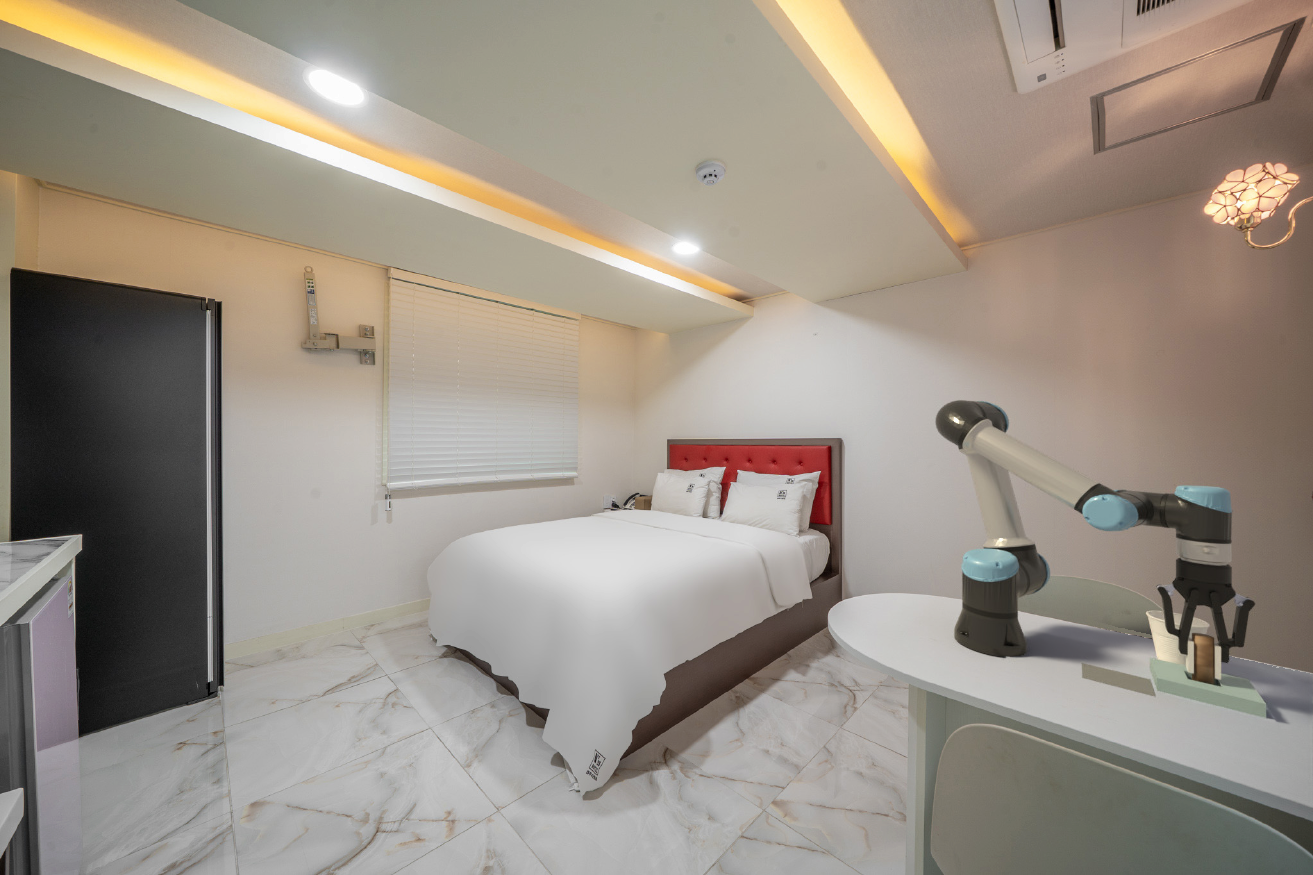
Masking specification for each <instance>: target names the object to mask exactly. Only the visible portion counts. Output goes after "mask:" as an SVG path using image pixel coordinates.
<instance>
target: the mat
mask: <svg viewBox="0 0 1313 875" xmlns="http://www.w3.org/2000/svg"><path fill="white" fill-rule="evenodd" d="M1081 678H1082V679H1085V680H1089V681H1094V682H1096V683H1100V684H1101V683H1102V684H1104V685H1109V686H1113V687H1117V688H1120V689H1125V690H1128V691H1131V692H1134V693H1140V694H1142V695H1143V694H1144V695H1146V696H1147V695H1148V696H1151V697H1154V698H1156V693H1155V691H1154V687H1153V683H1152V680H1151V679H1150V678H1146V677H1142V676H1137V675H1133V674H1130V673H1129V674H1128V673H1125V672H1122V671H1117V670H1113V669H1109V668H1105V667H1100V666H1096V665H1092V664H1087V663H1084V662H1081Z"/></svg>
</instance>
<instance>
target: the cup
mask: <svg viewBox="0 0 1313 875" xmlns="http://www.w3.org/2000/svg"><path fill="white" fill-rule="evenodd" d="M1145 614H1146V616H1147V618H1148V622H1149V629H1150V630H1151V636H1152V641H1153V645H1154V649H1155V655H1156V659H1158V660H1163V661H1167V662H1172V663H1176V664H1181V665H1186V655H1184V654H1181V653H1180V651H1179V649H1178V637H1177V636H1175V635H1173V634H1169V633H1168V632H1167V630H1166V626H1165V619H1164V612H1163V610H1147V611H1146V612H1145ZM1173 616H1174V623H1175V628H1176V629H1178V630H1179V626H1180V622H1181V617H1182V613H1177V612H1174V611H1173ZM1210 627H1211V625H1210V623H1209V622H1207V621H1205V620H1203V619H1200V618H1198V617H1195V616H1194V617H1193V621H1192V626H1191V630H1190V634H1189V638H1192V633H1201V634H1206V635H1207V633H1208V629H1209V628H1210Z"/></svg>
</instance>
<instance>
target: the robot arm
mask: <svg viewBox="0 0 1313 875" xmlns="http://www.w3.org/2000/svg"><path fill="white" fill-rule="evenodd" d="M935 416H936V417H935V428H936V430H937V432H938V433H939V434H940V435H941V436H942V437H943V438H944V439H946V440H947V441H949V443H952V444H954V445H955V446H957V448H958V451H959V452H960V453H962V454H964V455H965V456H966V458H967V463H968V465H969V466H968V467H969V470H970V475H971V478H972V482H973V486H974V490H975V493H976V497H977V502H978V506H979V509H980V514H981V516H982V517H981V518H982V521H983V525H984V526H983V527H984V530H985V534H986V537H987V540H986V541H985V542H984V543H983V545H982V548H974V549H970V550H967V551H966V552H965V553H964V554H963V556H962V563H961V579H962V580H961V584H962V586H961V591H962V592H961V595H962V596H961V597H962V598H961V599H962V600H961V602H962V603H961V604H962V605H961V606H962V607H961V610H960V614H959V616H958V619H957V621H956V623H955V626H954V631H953V632H954V633H953V635H954V639H955V641H956V640H957V641H956V642H958V643H959V644H960V645H962V646H963V647H966V648H968V649H970V650H972V651H975V652H978V653H981V654H986V655H989V656H996V657H1002V658H1007V657H1009V658H1012V657H1013V658H1015V657H1022V656H1024V655H1026V654H1027V652H1028V643H1027V640H1026V637H1025V635H1024V632H1023V628H1022V627H1021V624H1020V622H1019V598H1022V597H1025V596H1028V595H1029V596H1030V595H1033V594H1036V593H1038V592H1039V591H1040V590H1042V589H1043V588H1044V587H1046V585H1047V584H1048V583H1049V581H1050V577H1051V568H1050V565H1049V563H1048V562H1047V560H1046V559H1045V557H1044V556H1042V555H1041V554H1040V553H1039V552H1038V549H1037V546H1036V543H1035V541H1034V540H1032V539H1030V538H1029V537H1028V536H1026V531H1025V528H1024V525H1023V521H1022V517H1021V513H1020V509H1019V506H1018V502H1017V499H1016V495H1015V491H1014V487H1013V483H1012V480H1011V477H1010V473H1011V474H1013V475H1015V476H1016V477H1018V478H1020V479H1021V480H1024V481H1025V482H1026V483H1028V484H1030V485H1032V486H1033V487H1035V488H1037V489H1038V490H1040V491H1042V492H1043V493H1045V494H1047V495H1048V496H1050V497H1052V498H1054V499H1055V500H1057V501H1059V502H1060V503H1062V504H1064V505H1066V506H1067V507H1069V508H1071V509H1073V510H1074V511H1076V512H1077V513H1079V514H1081V515H1082V517H1083V518H1084V519H1085V521H1086V522H1087V523H1088V524H1089V525H1090V526H1091V527H1093V528H1094V529H1097V530H1099V531H1103V532H1122V531H1126V530H1129V529H1131V528H1135V527H1138V526H1146V527H1157V528H1163V529H1164V528H1165V529H1175V555H1176V556H1177V558H1176V559H1175V578H1174V580H1172V583H1169V584H1157V585H1156V589H1157V591H1158V593H1159V595H1160V596H1161V603H1162V611H1163V612H1164V619H1165V626H1166V630H1167V632H1168V633H1169V634H1173V635H1175V636H1177V637H1178V649H1179V651H1180V653H1181V654H1184V655H1186V669H1187V671H1188V672H1189V673H1193V674H1194V642H1193V641H1192V638H1189V634H1190V630H1191V626H1192V621H1193V617H1195V616H1194V615H1195V612H1196V610H1197V606H1199V607H1201V606H1205V607H1207V608H1209V609H1210V612H1211V617H1212V621H1213V624H1214V629H1215V634H1216V640H1217V642H1214V677H1215V679H1220V680H1221V673H1222V663H1223V664H1228V663H1229V662H1230V649H1231V648H1236V647H1237V648H1244V647H1245V641H1246V636H1247V627H1248V622H1249V615H1250V611H1252V609H1253V608H1254V607H1255V605H1256V602H1255V601H1254V600H1253V599H1252V598H1250V597H1249V596H1243V595H1241V594H1239V593H1237V592H1236V590H1235V589H1234V587H1233V580H1232V579H1233V570H1232V569H1233V566H1231V564H1229V563H1231V562H1233V561H1232V558H1233V557H1232V553H1233V552H1232V538H1233V537H1232V536H1233V535H1232V531H1233V528H1232V527H1233V526H1232V525H1233V524H1232V523H1233V511H1234V510H1233V509H1232V498H1231V493H1230V491H1229V490H1228V489H1226V488H1224V487H1219V486H1207V485H1191V484H1190V485H1188V484H1187V485H1185V484H1184V485H1177V486H1176V488H1175V491H1174V492H1173V493H1167V492H1166V493H1162V492H1152V491H1151V492H1150V491H1138V490H1127V489H1112V488H1110V487H1107V486H1105V485H1104V484H1102V483H1100V482H1099V481H1097V480H1095V479H1093V478H1091V477H1090V476H1087V475H1085V474H1083V473H1081V472H1080V471H1077V470H1076V469H1074V468H1072V467H1070V466H1068V465H1067V464H1064V463H1063V462H1061V461H1060V460H1057V459H1055V458H1053V457H1051V456H1049V455H1047V454H1046V453H1044V452H1043V451H1040V450H1038V448H1034V447H1033V446H1030V445H1029V444H1027V443H1025V442H1023V441H1021V440H1019V439H1017V438H1016V437H1013V436H1012V435H1010V434H1008V433H1007V431H1008V430H1009V427H1010V426H1009V425H1010V420H1009V417H1008V414H1007V413H1006V411H1005V410H1004V409H1002V407H1001V406H999V405H997V404H994V403H992V402H988V401H983V400H977V401H976V400H975V401H974V400H962V399H961V400H960V399H958V400H952V401H950V402H948V403H946V404H944V405H943V406H942V407H941V408H940V409H939V410H938V411H937V413H936V415H935ZM1009 472H1010V473H1009ZM1175 590H1176V591H1177V592H1178V593H1179V594H1180V596H1181V597H1182V598H1183V599H1184V605H1183V610H1182V613H1181V614H1182V617H1181V622H1180V626H1179V630H1178V629H1176V628H1175V623H1174V616H1173V612H1174V610H1173V609H1174V608H1173V601H1172V599H1171V597H1172V596H1174V591H1175ZM1232 599H1234V601H1233V602H1234V604H1235V606H1236V607H1235V613H1234V620H1233V626H1232V632H1231V638H1229V636H1228V632H1227V626H1226V622H1225V619H1224V612H1223V606H1224V605H1225V604H1227V603H1228V602H1230V600H1232Z"/></svg>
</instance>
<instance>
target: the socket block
mask: <svg viewBox="0 0 1313 875" xmlns="http://www.w3.org/2000/svg"><path fill="white" fill-rule="evenodd" d="M1149 671H1150V673H1151V677H1152V680H1153V682H1154V686H1155V690H1156V691H1158V692H1161V693H1163V694H1169V695H1172V696H1177V697H1181V698H1185V699H1188V700H1193V701H1196V702H1200V703H1205V704H1209V705H1212V706H1215V707H1220V708H1224V709H1229V710H1232V711H1236V712H1240V713H1244V714H1249V715H1253V716H1257V717H1260V718H1264V719H1267V703H1266V702H1265V701H1264V699H1263V698H1262V696H1261V695H1260V694H1259V692H1258V691H1257V689H1256V688H1255V687H1254V685H1253V684H1252V683H1251V681H1250V680H1249V679H1248V678H1244V677H1240V676H1235V675H1229V674H1227V673H1222V672H1221V680H1220V679H1215V677H1214V685H1211V684H1207V683H1203V682H1198V681H1194V680H1192V673H1189V672H1188V671H1187V669H1186V665H1181V664H1176V663H1172V662H1167V661H1163V660H1158V659H1157V658H1154V657H1149Z"/></svg>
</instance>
